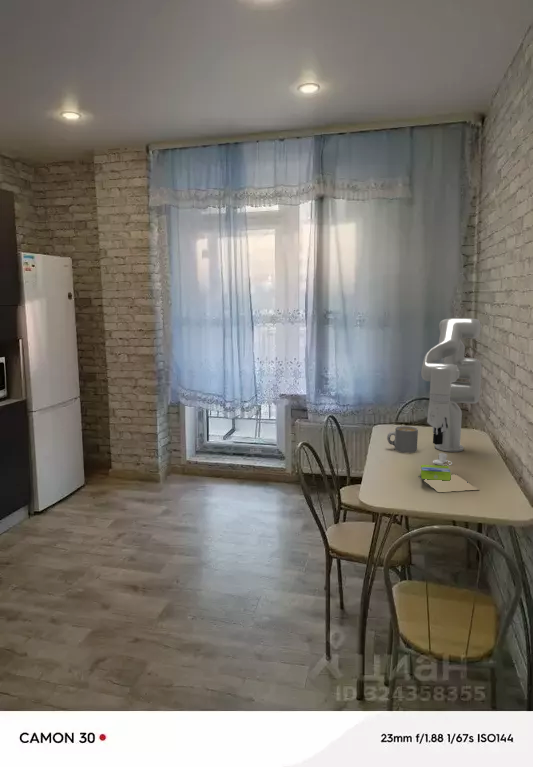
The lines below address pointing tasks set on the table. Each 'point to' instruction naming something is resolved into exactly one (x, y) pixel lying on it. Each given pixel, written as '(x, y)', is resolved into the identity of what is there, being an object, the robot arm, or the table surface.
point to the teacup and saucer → (441, 459)
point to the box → (435, 472)
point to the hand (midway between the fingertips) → (437, 443)
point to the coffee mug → (404, 439)
